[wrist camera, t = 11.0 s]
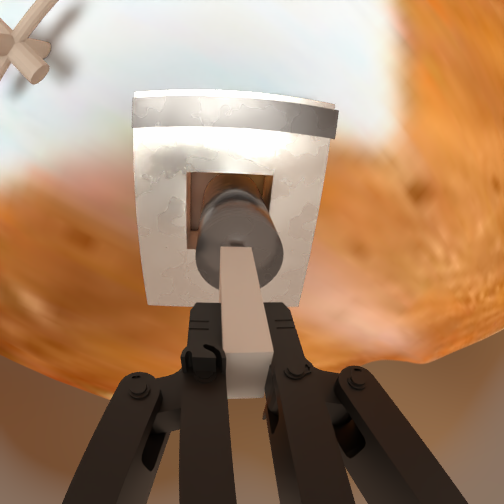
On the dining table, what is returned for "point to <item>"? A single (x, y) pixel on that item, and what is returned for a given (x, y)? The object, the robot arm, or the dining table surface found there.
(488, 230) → the dining table surface
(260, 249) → the dark steel cylinder
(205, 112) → the block
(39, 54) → the tan toy jack
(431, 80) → the dining table surface
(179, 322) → the dining table surface
